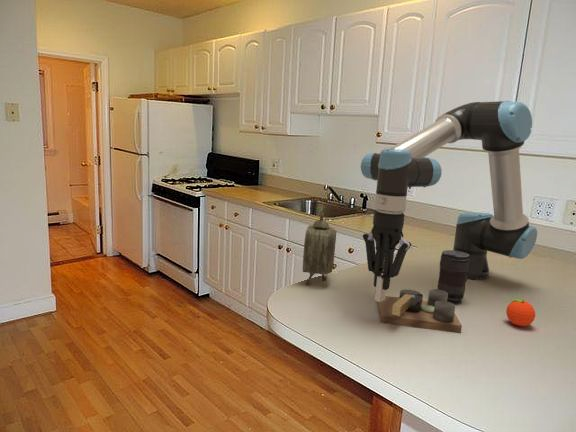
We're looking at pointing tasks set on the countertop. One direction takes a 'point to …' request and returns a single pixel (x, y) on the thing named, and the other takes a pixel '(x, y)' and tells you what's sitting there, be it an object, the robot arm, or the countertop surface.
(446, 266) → the camera lens
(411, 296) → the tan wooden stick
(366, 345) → the countertop surface
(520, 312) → the tomato
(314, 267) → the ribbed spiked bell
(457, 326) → the base
